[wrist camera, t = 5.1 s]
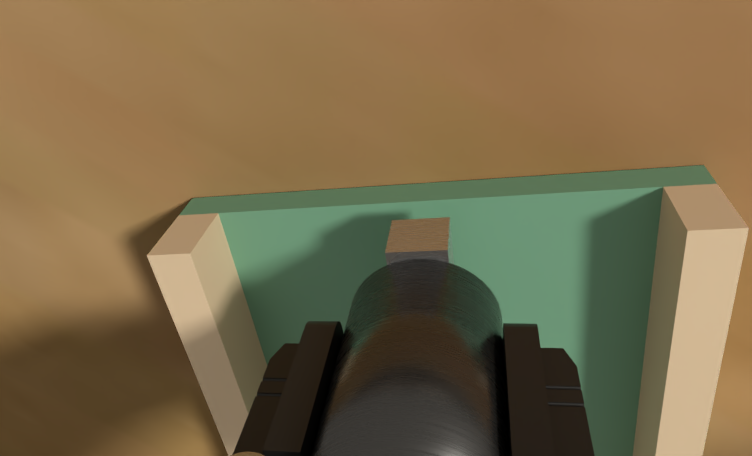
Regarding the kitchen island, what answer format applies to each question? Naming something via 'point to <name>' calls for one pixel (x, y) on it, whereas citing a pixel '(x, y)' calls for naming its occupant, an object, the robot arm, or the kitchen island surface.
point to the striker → (418, 357)
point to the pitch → (496, 269)
